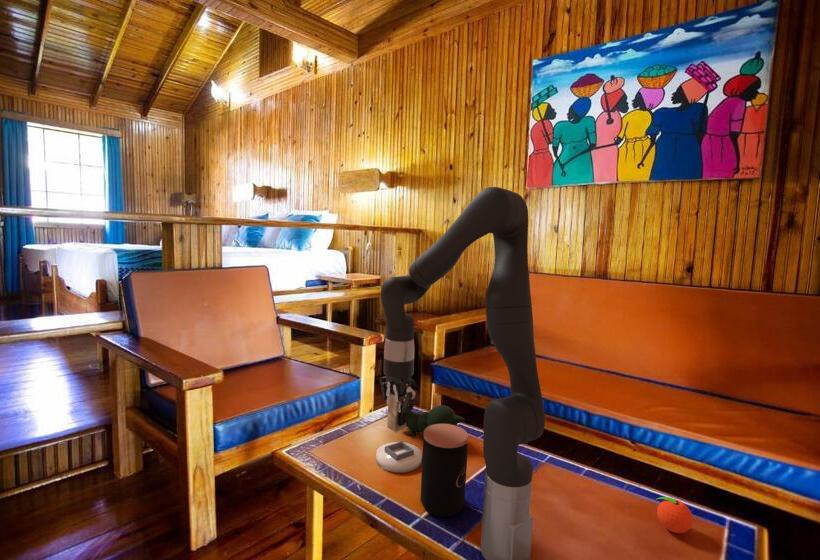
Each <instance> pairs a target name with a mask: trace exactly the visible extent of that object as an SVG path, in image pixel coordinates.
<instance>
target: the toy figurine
mask: <svg viewBox="0 0 820 560" xmlns="http://www.w3.org/2000/svg"><path fill="white" fill-rule="evenodd" d="M410 383H411V386H414V387H417V386H418V385H417V381H415V380H414V379H413V378H412V377H411V378H410ZM465 421H466V418H465V417H462V416H460V415H458V414H456V412H455V411H454V409H453V408H451V407H450V406H448V405H444V404H442V405H441V404H440V405H436V406H434V407H432V408H431V409H430V411H424V412H422V413H420V412H413V410H411V411H407V416H406V428H408V430H409V435H410V436H411V437H414V436H416V434H419V433H420V437H421V438H422V439H424V430H425V429H426V428H427V427H428V426H430V425H434V424H451V425H455V426H457V425H458V424H460V423H462V422H465Z"/></svg>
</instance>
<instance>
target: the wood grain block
mask: <svg viewBox="0 0 820 560" xmlns="http://www.w3.org/2000/svg"><path fill="white" fill-rule="evenodd" d="M399 398H400V399H401V398H405V396H404V397H399ZM401 404H402V406H403V404H404V402H402V403H401ZM397 406H398V403H397V402H395V395H394V394H392V393H391V394H389V397H388V405H387V422H386V423H387V425H386V428H387V429H389V430H391V431H392V432H393V433H398V432H401V431H404V430H407V427H406V423H405V425H402V426H398V425H397V415H398V408H397ZM406 416H407V414H406Z"/></svg>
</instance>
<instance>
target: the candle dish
mask: <svg viewBox="0 0 820 560" xmlns="http://www.w3.org/2000/svg"><path fill="white" fill-rule="evenodd" d="M375 453H376V455H375V457H376V458H375V463H376V464H377V465H378V467H379V468H381V469H383V470H385V471H387V472H391V473H399V474H400V473H403V474H404V473H409V472H412V471H414V470H416V469H418V468H419V467H420V466H422V454H423V451H422V450H421V449H420V448H419V447H418V446H416V445H414V444H411V443H408V442H403V441H402V440H401V441H396V442H395V441H394V442H388V443H384V444H383V445H380V446H379V447H378V448H377V450H376V451H375Z"/></svg>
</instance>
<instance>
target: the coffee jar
mask: <svg viewBox="0 0 820 560" xmlns="http://www.w3.org/2000/svg"><path fill="white" fill-rule="evenodd" d="M468 441H469V434H468V432H467V431H466V430H465V429H464V428H463V427H460V426H455V425H451V424H434V425H430V426H428V427H427V428H426V429H425V430H424V438H423V440H422V462H421V481H420V498H419V501H420V503H421V505H422V507H424V510H425V511H426V512H428V513H429V514H431V515H433V516H436V517H439V518H440V517H443V518H447V517H453V516H455V515H457V514H458V513H460V512H461V510H462V509H463V507H464V505H465V500H466V482H467V467H468V452H469V451H468V450H469V449H468V448H469V447H468Z"/></svg>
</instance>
